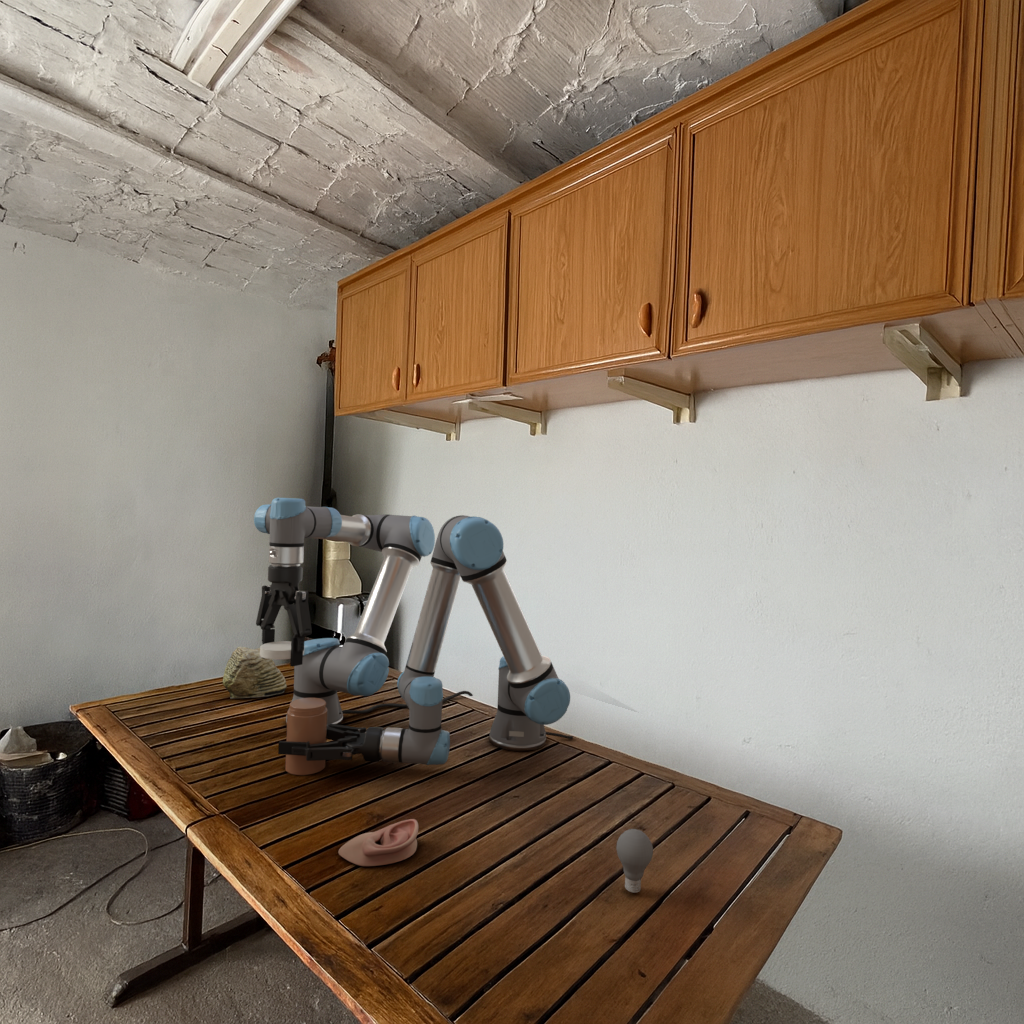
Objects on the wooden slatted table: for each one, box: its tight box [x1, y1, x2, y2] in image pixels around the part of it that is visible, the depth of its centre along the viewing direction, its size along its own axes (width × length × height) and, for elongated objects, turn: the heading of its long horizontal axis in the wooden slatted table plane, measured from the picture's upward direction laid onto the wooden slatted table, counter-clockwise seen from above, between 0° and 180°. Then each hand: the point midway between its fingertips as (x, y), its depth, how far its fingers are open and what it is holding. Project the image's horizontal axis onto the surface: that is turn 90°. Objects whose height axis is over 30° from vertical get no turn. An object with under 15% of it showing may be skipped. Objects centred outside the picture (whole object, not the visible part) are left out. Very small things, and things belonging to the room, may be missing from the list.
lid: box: [259, 640, 305, 661], centre depth 146 cm, size 10×10×2 cm
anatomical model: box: [337, 818, 419, 867], centre depth 114 cm, size 13×4×12 cm
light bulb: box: [615, 828, 654, 894], centre depth 106 cm, size 6×6×10 cm
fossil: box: [222, 646, 288, 699], centre depth 198 cm, size 9×18×15 cm, turn 132°
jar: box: [284, 698, 328, 776], centre depth 148 cm, size 9×9×15 cm
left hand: (281, 661), depth 146 cm, fingers closed on lid, 10 cm apart
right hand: (287, 739), depth 148 cm, fingers closed on jar, 9 cm apart
